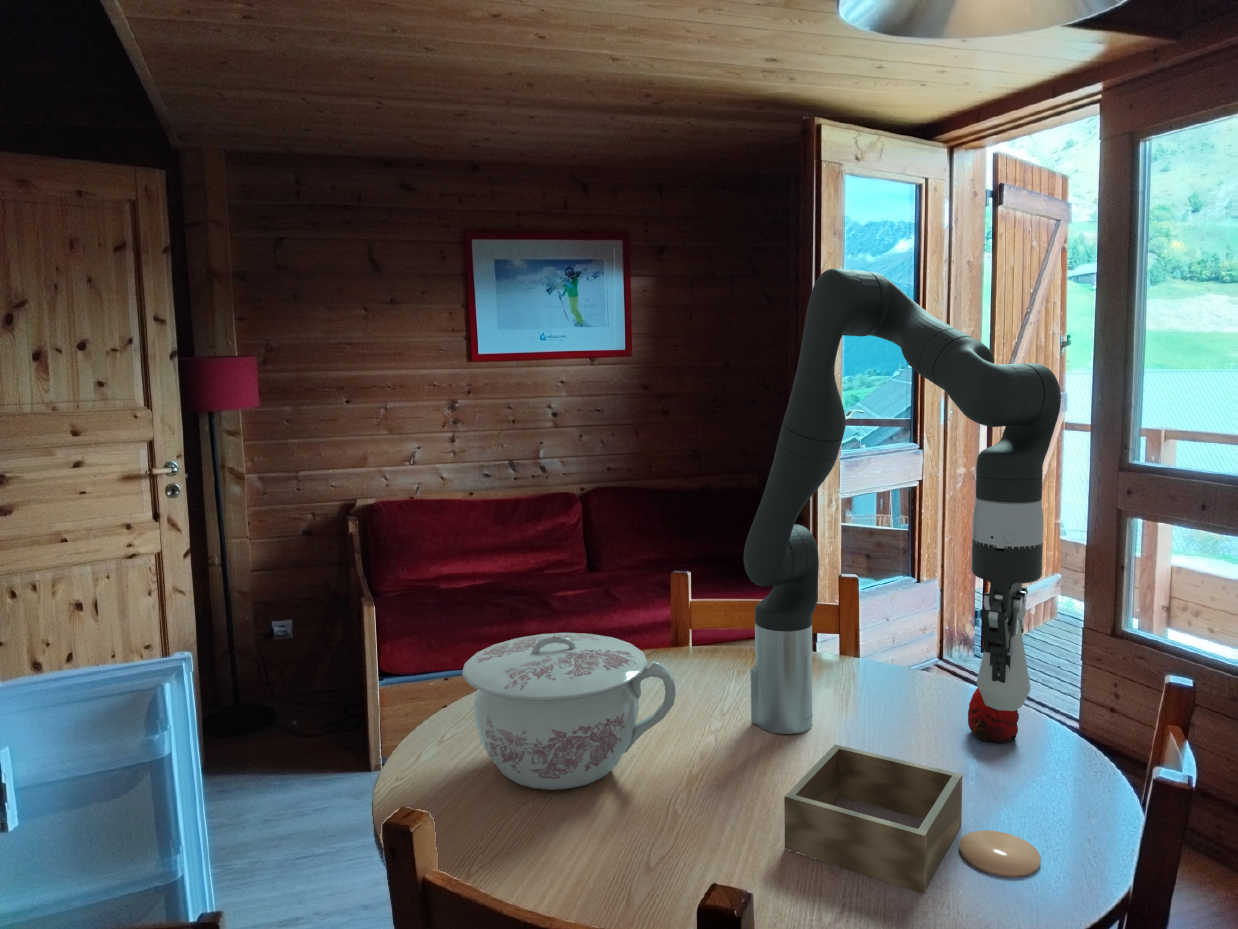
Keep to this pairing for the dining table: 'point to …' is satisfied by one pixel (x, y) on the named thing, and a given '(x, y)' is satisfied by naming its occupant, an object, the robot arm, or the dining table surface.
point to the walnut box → (867, 838)
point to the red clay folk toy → (991, 721)
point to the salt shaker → (1016, 678)
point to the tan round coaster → (1000, 853)
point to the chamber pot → (561, 705)
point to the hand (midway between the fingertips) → (1003, 679)
